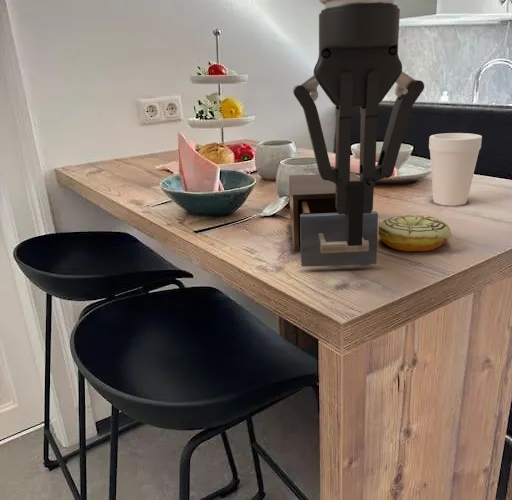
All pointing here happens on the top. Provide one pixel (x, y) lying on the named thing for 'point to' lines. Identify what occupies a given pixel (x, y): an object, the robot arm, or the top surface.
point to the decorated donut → (414, 232)
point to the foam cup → (453, 166)
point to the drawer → (333, 236)
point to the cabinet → (308, 197)
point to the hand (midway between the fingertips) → (353, 241)
